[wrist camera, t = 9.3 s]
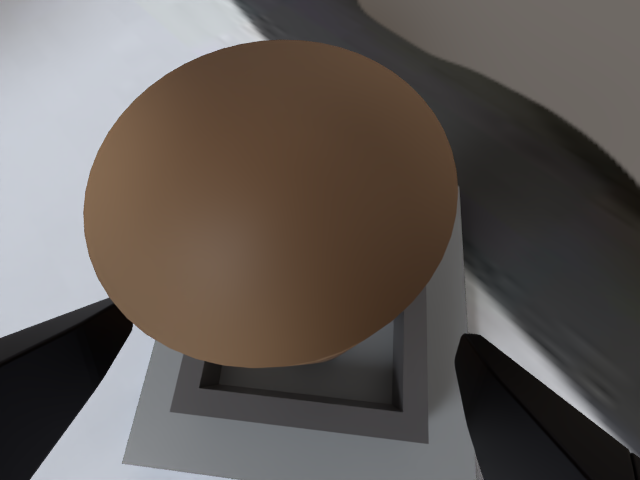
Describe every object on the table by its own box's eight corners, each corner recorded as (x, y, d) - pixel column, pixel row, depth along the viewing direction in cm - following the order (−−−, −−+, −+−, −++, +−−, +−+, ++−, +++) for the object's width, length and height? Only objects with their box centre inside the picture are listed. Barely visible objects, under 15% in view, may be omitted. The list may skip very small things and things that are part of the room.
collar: (469, 502, 15) (509, 543, 11) (134, 457, 16) (82, 483, 12) (453, 194, 20) (476, 161, 17) (207, 176, 21) (185, 142, 18)
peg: (310, 388, 16) (243, 483, 3) (239, 307, 17) (18, 170, 5) (386, 308, 17) (535, 170, 5) (314, 239, 18) (284, -3, 6)
